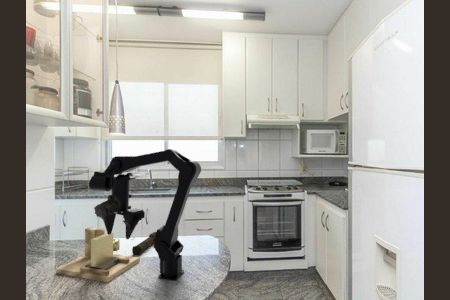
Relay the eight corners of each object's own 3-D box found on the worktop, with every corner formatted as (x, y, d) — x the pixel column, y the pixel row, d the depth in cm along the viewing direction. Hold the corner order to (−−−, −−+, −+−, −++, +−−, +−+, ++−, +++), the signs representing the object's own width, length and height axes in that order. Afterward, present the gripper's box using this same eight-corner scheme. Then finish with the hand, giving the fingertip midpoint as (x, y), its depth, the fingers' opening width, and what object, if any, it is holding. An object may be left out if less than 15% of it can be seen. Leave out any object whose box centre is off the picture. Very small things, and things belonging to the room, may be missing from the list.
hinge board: (139, 261, 92) (139, 229, 93) (108, 282, 77) (108, 244, 77) (93, 255, 99) (94, 225, 99) (56, 273, 83) (56, 237, 84)
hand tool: (140, 256, 98) (140, 244, 98) (131, 255, 99) (131, 244, 99) (162, 240, 116) (162, 231, 116) (154, 240, 117) (154, 230, 117)
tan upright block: (125, 258, 91) (125, 230, 92) (101, 272, 80) (101, 240, 81) (110, 256, 93) (110, 229, 94) (85, 269, 82) (85, 238, 83)
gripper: (81, 192, 82) (79, 238, 82) (119, 198, 74) (117, 249, 73) (110, 188, 92) (108, 229, 92) (146, 193, 84) (144, 239, 83)
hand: (118, 236), depth 85 cm, fingers open, 9 cm apart
